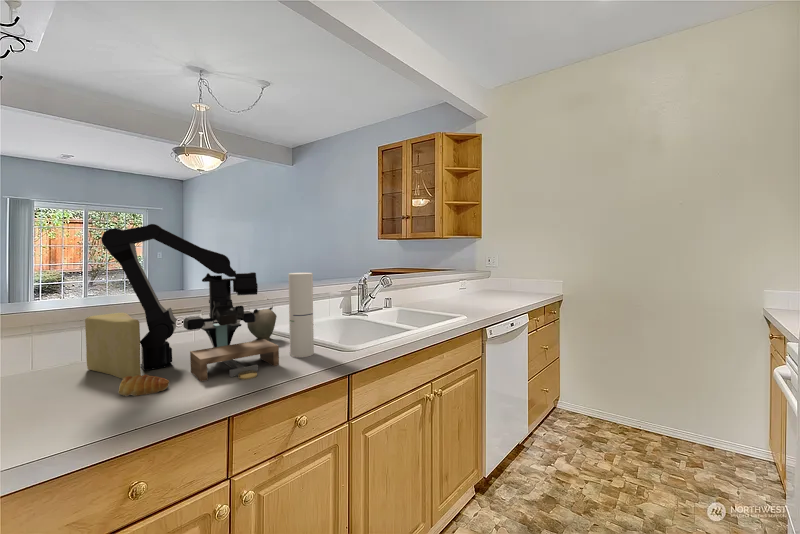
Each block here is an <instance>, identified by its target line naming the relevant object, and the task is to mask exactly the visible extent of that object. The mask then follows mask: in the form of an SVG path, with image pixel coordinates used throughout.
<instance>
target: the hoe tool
mask: <svg viewBox="0 0 800 534" xmlns="http://www.w3.org/2000/svg"><path fill="white" fill-rule="evenodd" d="M214 327H215V328H216V332H215V334H216V342H217V347H220V346H226V345H228V340H227V325H219V323H216V324H214ZM212 348H214V347H213V346H212ZM222 363H224V364H225V365H227V366H229V367H230V368H231V369H228V370H229V371H228V373H229V377H230V378H233V377H238V373H240V372H242V371H247V370H255V371H257V372H258V371H259V365H258V364H252V365H249V366H244V365H242V364H241V363H239V362H238V361H236V359H232V360H227V361H222Z"/></svg>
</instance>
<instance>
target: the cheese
mask: <svg viewBox="0 0 800 534" xmlns="http://www.w3.org/2000/svg"><path fill="white" fill-rule="evenodd" d="M84 324H85V325H84V326H85V328H84V329H85V344H86V345H85V348H86V349H85V350H86V352H85V353H86V354H85V356H86V358H85V359H86V368H87V370H89V371H93V372H98V373H102V374H107V375H111V376H114V377H116V378H119V379H121V380H123V378H124V377H126V376H132V377H134V376H137V375H141V376H142V373H141V372H142V371H141V343H140V341H141V333H140V332H141V331H140V330H141V329H140V326H141V325H140V321H139V320H138V319H135V318H133V317H131V316H130V315H129V314H128V313H126V312H116V313H115V312H114V313H106V314H98V315H97V314H96V315H91V316H87V317H86V318H85V321H84Z"/></svg>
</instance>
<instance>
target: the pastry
mask: <svg viewBox="0 0 800 534" xmlns="http://www.w3.org/2000/svg"><path fill="white" fill-rule="evenodd" d="M169 385H170V380H169V379H166V378H164V377H160V376H155V375H149V374H141V375H137V376H134V377H132V376H126V377H124V378H123V379H121V381H120V384H119V388H118V395H120V396H123V397H129V396H130V395H131V396H133V397H136V396H146V395H152V394H157V393H159V392H163V391H165V390H166V389H168V388H169Z"/></svg>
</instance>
